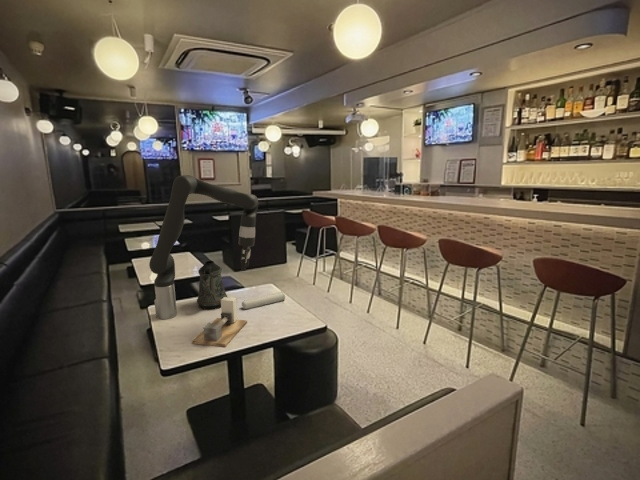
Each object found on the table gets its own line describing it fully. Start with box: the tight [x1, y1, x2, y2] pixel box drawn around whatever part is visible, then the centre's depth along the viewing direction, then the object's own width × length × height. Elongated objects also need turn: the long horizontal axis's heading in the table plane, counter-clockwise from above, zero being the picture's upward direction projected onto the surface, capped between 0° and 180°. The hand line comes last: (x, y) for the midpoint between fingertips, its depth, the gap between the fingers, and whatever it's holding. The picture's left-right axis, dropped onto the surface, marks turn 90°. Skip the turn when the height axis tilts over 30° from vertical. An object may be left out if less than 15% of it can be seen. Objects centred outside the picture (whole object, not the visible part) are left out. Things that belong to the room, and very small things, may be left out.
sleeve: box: [220, 296, 239, 322], centre depth 175 cm, size 6×4×11 cm, turn 79°
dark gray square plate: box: [220, 313, 232, 324], centre depth 172 cm, size 5×1×5 cm, turn 79°
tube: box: [241, 291, 286, 310], centre depth 200 cm, size 5×5×25 cm
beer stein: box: [196, 260, 228, 311], centre depth 196 cm, size 16×19×25 cm
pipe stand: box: [191, 316, 248, 348], centre depth 166 cm, size 16×24×7 cm, turn 169°
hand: (244, 268), depth 174 cm, fingers open, 8 cm apart
